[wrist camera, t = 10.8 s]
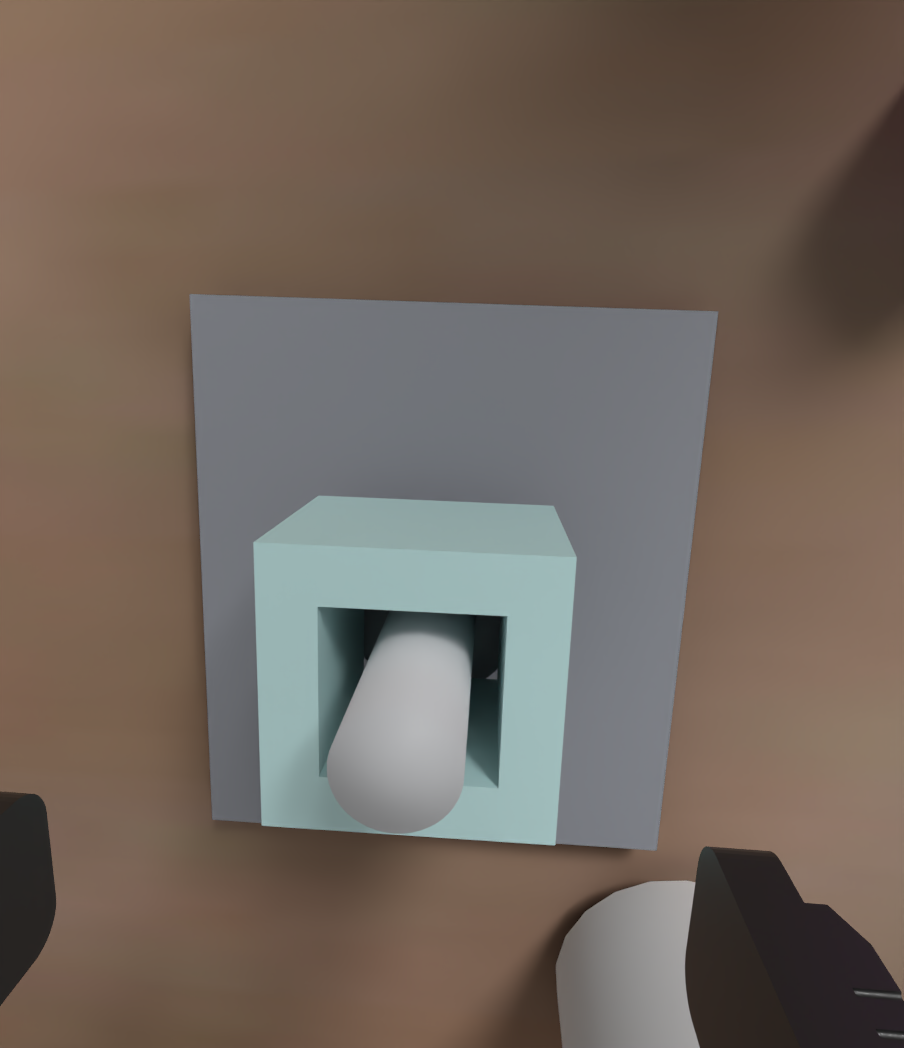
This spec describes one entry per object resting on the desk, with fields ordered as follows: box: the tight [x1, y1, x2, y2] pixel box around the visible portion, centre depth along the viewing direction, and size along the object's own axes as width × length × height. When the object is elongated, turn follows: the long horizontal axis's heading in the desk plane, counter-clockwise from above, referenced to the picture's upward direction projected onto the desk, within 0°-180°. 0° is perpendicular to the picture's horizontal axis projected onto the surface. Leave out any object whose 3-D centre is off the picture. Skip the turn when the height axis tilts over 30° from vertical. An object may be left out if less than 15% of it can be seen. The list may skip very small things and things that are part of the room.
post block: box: [190, 294, 718, 851], centre depth 16 cm, size 16×14×10 cm
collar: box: [253, 496, 577, 845], centre depth 16 cm, size 6×6×5 cm
